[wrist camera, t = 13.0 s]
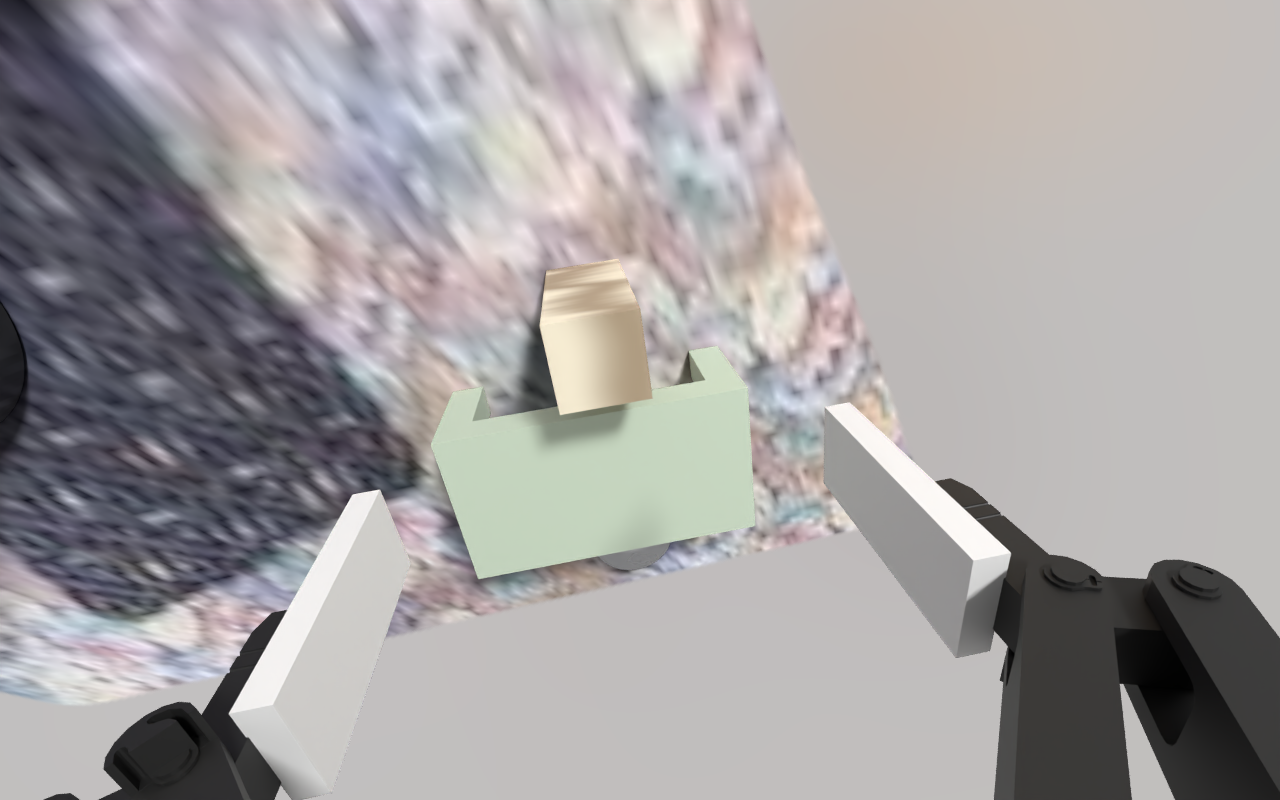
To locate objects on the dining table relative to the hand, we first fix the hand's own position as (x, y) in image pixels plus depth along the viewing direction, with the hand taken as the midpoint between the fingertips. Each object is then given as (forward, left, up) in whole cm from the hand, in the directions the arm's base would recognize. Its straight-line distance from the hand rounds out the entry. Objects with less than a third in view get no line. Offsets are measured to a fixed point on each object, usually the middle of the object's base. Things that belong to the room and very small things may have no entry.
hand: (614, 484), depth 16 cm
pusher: (0, -7, -21) cm, 22 cm away
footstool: (-1, -10, -21) cm, 23 cm away
